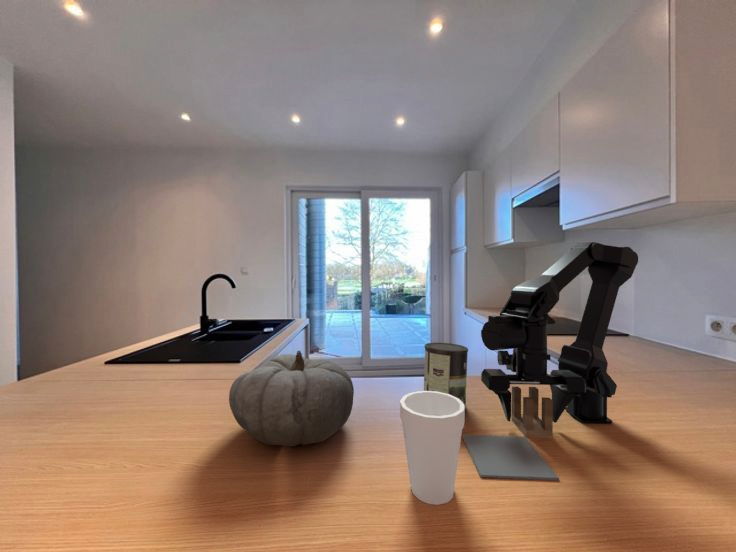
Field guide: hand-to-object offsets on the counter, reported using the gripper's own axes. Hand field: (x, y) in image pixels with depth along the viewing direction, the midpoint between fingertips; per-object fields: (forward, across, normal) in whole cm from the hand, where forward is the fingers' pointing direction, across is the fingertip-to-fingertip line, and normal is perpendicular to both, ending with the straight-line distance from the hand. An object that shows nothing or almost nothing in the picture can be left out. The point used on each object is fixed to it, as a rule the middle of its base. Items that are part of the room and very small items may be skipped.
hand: (531, 421), depth 63 cm
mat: (+2, +9, +10) cm, 14 cm away
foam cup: (+2, +23, +19) cm, 30 cm away
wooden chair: (+2, 0, 0) cm, 2 cm away
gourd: (+2, +49, +3) cm, 49 cm away
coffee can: (+1, +16, -10) cm, 19 cm away
